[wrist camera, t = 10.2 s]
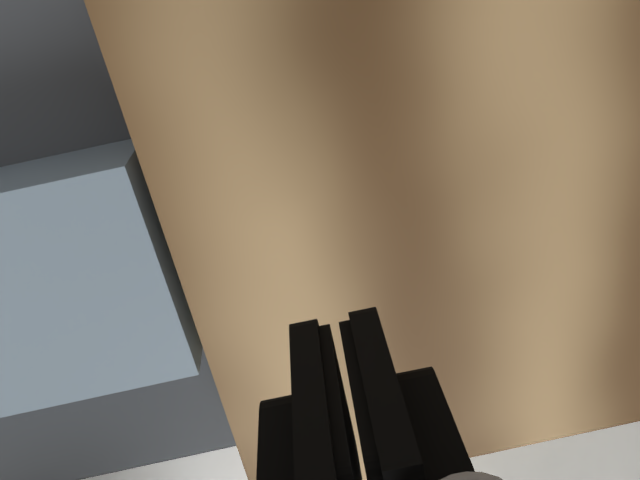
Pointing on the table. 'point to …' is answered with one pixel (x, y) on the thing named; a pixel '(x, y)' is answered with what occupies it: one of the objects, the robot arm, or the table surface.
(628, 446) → the table surface
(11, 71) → the mat
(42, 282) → the tile
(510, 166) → the wooden block
